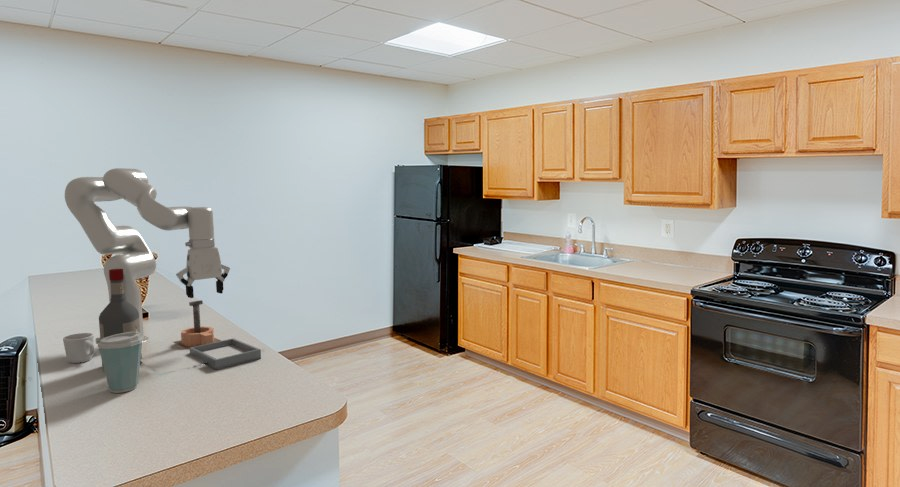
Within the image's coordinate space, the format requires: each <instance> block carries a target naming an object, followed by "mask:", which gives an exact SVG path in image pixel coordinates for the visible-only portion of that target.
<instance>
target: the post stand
mask: <svg viewBox="0 0 900 487" xmlns="http://www.w3.org/2000/svg"><path fill="white" fill-rule="evenodd" d="M188 304H189V305H188V306H190V307H192V312H193V313H192V314H193V327H194V333H201V328H200V327H201V313H200V311H201V310H200V308H201V307H200V305H201V306H202V305H203V304H204V303H203V300H201V299H200V300H196V301H195V300H194V301H189V303H188ZM219 341H222V340H221V339H219V338H216V337H214V341H213V343H214V342H219ZM173 343H174V344H177V345H179V346H180V347H182V348H184V349H187V350H190V348H191V347H195V346H185V345H183V344H182V343H181V339H180V340H176V341H173ZM198 346H200V345H198Z"/></svg>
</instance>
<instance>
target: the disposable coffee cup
mask: <svg viewBox="0 0 900 487" xmlns="http://www.w3.org/2000/svg"><path fill="white" fill-rule="evenodd" d="M143 343H144V342H143V338H142V337H141V336H140V333H139V332H126V333H120V334H115V335H111V336H108V337H105V338H103V339H101V340H100V342H98V344H97V347H98V350H99V351H98V352H99V354H100V359H101V364H102V363H103V367H104V368H103V367H102V368H103V371H104V374H105V378H106V383H107V386H108V389H109V390H110V391H109V392H111V393H115V394H118V393H120V394H121V393H126V392H130V391H132V390H135V389H137V387H138V384H139V377H140V368H141V367H140V366H141V362H140V361H141V360H142V359H141V355H142V350H143V349H142V348H143V347H142V346H143ZM140 359H141V360H140Z"/></svg>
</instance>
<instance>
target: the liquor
mask: <svg viewBox="0 0 900 487" xmlns="http://www.w3.org/2000/svg"><path fill="white" fill-rule="evenodd" d="M109 279H110V284H111V299H110V301H111V302H109V303H108V304H107V305H106V306H105V307H104V309H103V310H102V311H101V312H100V313H99V315H98V326H99V337H100V340H101V339H103V338H105V337H108V336H111V335H115V334H120V333H126V332H139V333H140V324H139V312H138V310H137V309H136V308H135V307H134V306H133V305H131V304H130V303H129V302H128V301H127V300H126V297H125V295H124V284H123V279H124V275H123V269H111V270H109ZM142 359H143V358H142V354H141V359H140V363H141V362H142ZM101 366H102V368H103V369H104V367H103V363H102V362H101Z"/></svg>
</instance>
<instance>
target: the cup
mask: <svg viewBox="0 0 900 487" xmlns="http://www.w3.org/2000/svg"><path fill="white" fill-rule="evenodd" d="M62 341H63V346H64V351H65V356H66V360H67V362H68V363H70V362H71V364H80V362H81V363H85V362H88V361H90V360H91V359H92V358H93V355H94V354H95V345H94V333H91V332H81V333H79V332H78V333H73V334H69V335H67V336H64V337H63V339H62Z"/></svg>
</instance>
